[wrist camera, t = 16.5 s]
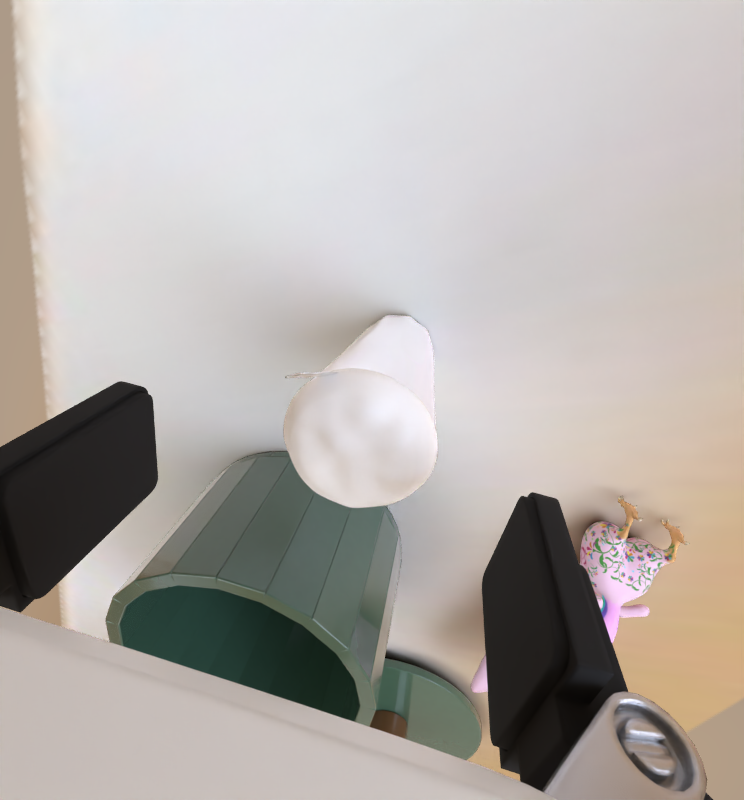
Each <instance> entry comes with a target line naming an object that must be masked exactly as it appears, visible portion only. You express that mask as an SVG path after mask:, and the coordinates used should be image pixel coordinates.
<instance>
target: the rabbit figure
mask: <svg viewBox="0 0 744 800" xmlns="http://www.w3.org/2000/svg"><path fill="white" fill-rule="evenodd" d="M620 498H621V501H620ZM618 502H619V503H621V506H623V507H624V509H625V513H626V515H627V519H626V523H625V525H624V526H623V527H622V528H619V527H617V526H616V525H614V524H612V523H610V522H604V521H601V522H596V523H594V524H592V525H591V526H589V527H588V529H587V530H586V532H585V533H584V536H583V539H582V543H581V551H580V558H581V560H580V565H582V566H583V567H584V568H585V569H586V570H587V572H588V574H589V577H590V580H591V583H592V586H593V589H594V592H595V595H596V598H597V601H598V604H599V607H600V610H601V613H602V616H603V618H604V621H605V624H606V627H607V630H608V633H609V636H610V639H611V642H612V643H613V641H614V638H615V635H616V632H617V629H618V622H619V617H644V616H647V615H649V609H648V607H647V606H645V605H641V604H639V605H633V606H622V605H623V604H624V603H625V602H628V601H631V600H633V599H636V598H638V597H640V596H642V595H643V594H644V593H646V592H647V590H648V589H649V588H650V586H651V583H652V581H653V579H654V577H655V575H656V573H657V572H658V571H659V569H660V568H661V567H662V566H664V565H665V564H668V563H673V562H674V561H675V559H676V551H677V548H678V547H679V544H680V542H681V543H683V544H685V545H688V544H690V543H688V542H685V541H684V536H683V535H682V533H681V532H680V530H679V529H678V528H679V527H673V526H671V525H669V520H667V522H666V524H665V523H664V521H663V519H662V520H661V522H662V524H663V525H664V526H665V528H666V529H668V530H669V532H670V535H671V538H672V543H671V545H670V547H669V548H668V549H666V550H661V549H658V548H656V547H654V546H653V545H652V544H650V543H649V542H647V541H645V540H644V539H641V538H628V539H626V538H627V537H628V532H629V529H630V527H631V524H632V522H633V520H634V519H636V520H638V521H640V520H642V519H641V518H638V517H637V516H638V512H637V511H636V510H635V508H636V506H637V505H636V506H632V505H631V504H629V503H626V502H624V499H623V496H622V497H621V496H620V497H619V498H618ZM471 690H472V691H473V692H475V693H478V692H486V691H488V685H487V667H486V654H485V656H484V658H483V659H482V661H481V663H480V666H479V668H478V670H477V672H476V674H475V676H474V678H473V680H472V683H471Z"/></svg>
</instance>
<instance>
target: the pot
mask: <svg viewBox="0 0 744 800" xmlns="http://www.w3.org/2000/svg"><path fill="white" fill-rule="evenodd" d="M400 567H401V540H400V535H399V531H398V528H397V525H396V523H395V521H394V519H393V517H392V515H391V513H390V512H389V510H388V509H387V507H386V506H375V507H365V508H351V507H347V506H344V505H341V504H339V503H336V502H334V501H331V500H329V499H327V498H325V497H323V496H321V495H319V494H317V493H316V492H314V491H313V490H312V489H311V488H310V487H309V486H308V485H307V484H306V483H305V482H304V481H303V480H302V478H301V477H300V475H299V474H298V472H297V471H296V469H295V467H294V465H293V463H292V460H291V458H290V455H289V453H288V452H266V453H258V454H255V455H251V456H247V457H245V458H242V459H240V460H238V461H236V462H234V463H233V464H231V465H229V466H228V467H227V468H225V469H224V470H223V471H222V472H221V473H220V474H219V475H218V476H217V477H216V478H215V479H214V480H213V481H212V482H211V483H210V484H209V485H208V486H207V488H206V489H205V490H204V491H203V492H202V493H201V495H200V496H199V497H198V498H197V499H196V500H195V502H194V503H193V504H192V505H191V506H190V507H189V509H188V510H187V511H186V512H185V513H184V514H183V516H182V517H181V518H180V519H179V520H178V521H177V523H176V524H175V525H174V526H173V527H172V528H171V530H170V531H169V532H168V533H167V534H166V535H165V537H164V538H163V539H162V540H161V541H160V542H159V544H158V545H157V546H156V547H155V548H154V549H153V551H152V552H151V553H150V554H149V555H148V556H147V558H146V559H145V560H144V561H143V562H142V563H141V565H140V566H139V567H138V568H137V569H136V570H135V572H134V573H133V574H132V575H131V576H130V577H129V579H128V580H127V581H126V582H125V583H124V584H123V586H122V587H121V588H120V589H119V590H118V591H117V593H116V594H115V595H114V596H113V599H112V601H111V604H110V607H109V610H108V613H107V616H106V626H107V630H108V635H109V640H110V642H111V643H114V644H117V645H120V646H123V647H127V648H130V649H133V650H136V651H139V652H142V653H145V654H148V655H151V656H154V657H157V658H161V659H164V660H167V661H170V662H173V663H176V664H179V665H182V666H185V667H188V668H191V669H195V670H198V671H201V672H204V673H207V674H210V675H213V676H216V677H219V678H222V679H225V680H228V681H232V682H235V683H238V684H241V685H244V686H247V687H250V688H253V689H256V690H259V691H262V692H265V693H268V694H271V695H274V696H277V697H280V698H283V699H287V700H290V701H293V702H296V703H299V704H302V705H305V706H308V707H311V708H314V709H317V710H320V711H323V712H326V713H329V714H332V715H335V716H338V717H341V718H344V719H347V720H350V721H353V722H356V723H359V724H362V725H365V726H368V727H370V724H371V721H372V719H373V716H374V713H375V711H376V707H377V701H378V695H379V689H380V684H381V678H382V672H383V666H384V660H385V654H386V649H387V643H388V637H389V631H390V625H391V620H392V614H393V608H394V602H395V596H396V590H397V585H398V579H399V573H400Z"/></svg>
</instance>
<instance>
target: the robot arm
mask: <svg viewBox="0 0 744 800" xmlns="http://www.w3.org/2000/svg"><path fill="white" fill-rule="evenodd" d="M157 481H158V471H157V456H156V441H155V426H154V411H153V399H152V397H151V395H149V394H148V391H147V390H146V388H144V387H141V386H138V385H134V384H130V383H127V382H121V381H120V382H117V383H115V384H113V385H111V386H110V387H108V388H106V389H104V390H102V391H101V392H99V393H97V394H95V395H93V396H92V397H90V398H88V399H86V400H84V401H83V402H81V403H79V404H77V405H75V406H74V407H72V408H70V409H68V410H66V411H65V412H63V413H61V414H59V415H57V416H55V417H54V418H52V419H50V420H48V421H46V422H45V423H43V424H41V425H39V426H38V427H36V428H34V429H32V430H30V431H28V432H27V433H25V434H23V435H21V436H19V437H18V438H16V439H14V440H12V441H10V442H9V443H7V444H5V445H3V446H1V447H0V606H2V607H5V608H9V609H11V610H14V611H17V612H21V611H23V610H24V609H25V608H26V607H27V606H28V605H29V604H30V603H31V602H32V601H33V600H34V599H38V598H41V597H43V596H44V595H46V594H47V593H48V592H49V591H50V590H51V589H52V588H53V587H54V586H55V585H56V584H57V583H58V582H59V581H61V580H62V579H63V578H64V577H65V576H66V575H67V574H68V573H69V572H70V571H71V570H72V569H73V568H74V567H75V566H76V565H77V564H78V563H79V562H80V561H81V560H82V559H83V558H84V557H85V556H86V555H87V554H88V553H89V552H90V551H91V550H92V549H93V548H94V547H95V546H97V545H98V544H99V543H100V542H101V541H102V540H103V539H104V538H105V537H106V536H107V535H108V534H109V533H110V532H111V531H112V530H113V529H114V528H115V527H116V526H117V525H118V524H119V523H120V522H121V521H122V520H123V519H124V518H125V517H126V516H127V515H128V514H129V513H130V512H132V511H133V510H134V509H135V508H136V507H137V506H138V505H139V504H140V503H141V502H142V501H143V500H144V499H145V498H146V497H147V496H148V495H149V494H150V493H151V492H152V491H153V490H154V488H155V486H156V484H157ZM482 597H483V614H484V632H485V650H486V667H487V685H488V702H489V720H490V735H491V741H492V744H493V745H494V746H497V747H499V749H500V763H501V768H502V769H505V770H508V771H512V772H515V773H518V774H520V780H521V782H520V781H518V780H515V779H513V778H510V777H508V776H505V775H503V774H501V773H498V772H496V771H493V770H491V769H488V768H486V767H483V766H481V765H478V764H475V763H472V762H469V761H467V760H464V759H461V758H458V757H455V756H452V755H450V754H447V753H444V752H441V751H438V750H435V749H432V748H430V747H427V746H424V745H421V744H418V743H415V742H412V741H410V740H407V739H404V738H401V737H398V736H395V735H393V734H389V733H386V732H383V731H380V730H377V729H374V728H371V727H368V726H365V725H362V724H359V723H356V722H353V721H350V720H347V719H344V718H341V717H338V716H335V715H332V714H329V713H326V712H323V711H320V710H317V709H314V708H311V707H308V706H305V705H302V704H299V703H296V702H293V701H290V700H287V699H283V698H280V697H277V696H274V695H271V694H268V693H265V692H262V691H259V690H256V689H253V688H250V687H247V686H244V685H241V684H238V683H235V682H232V681H228V680H225V679H222V678H219V677H216V676H213V675H210V674H207V673H204V672H201V671H198V670H195V669H191V668H188V667H185V666H182V665H179V664H176V663H173V662H170V661H167V660H164V659H161V658H157V657H154V656H151V655H148V654H145V653H142V652H139V651H136V650H133V649H130V648H127V647H123V646H120V645H117V644H114V643H111V642H108V641H105V640H102V639H98V638H95V637H92V636H89V635H86V634H83V633H80V632H76V631H73V630H70V629H67V628H64V627H60V626H57V625H54V624H51V623H48V622H45V621H42V620H38V619H35V618H32V617H29V616H26V615H23V614H20V613H17V612H13V611H10V610H7V609H4V608H0V800H713V799H712V798H711V797H710V796H709V795H708V794H707V793H706V785H707V778H706V773H705V769H704V765H703V762H702V760H701V757H700V755H699V753H698V751H697V750H696V748H695V745H694V744H693V742H692V741H691V739H690V738H689V737H688V735H687V734H686V732H685V731H684V730H683V728H682V727H681V726H680V725H679V724H678V723H677V722H676V721H675V720H674V719H673V718H672V717H671V716H670V715H669V714H668V713H667V712H666V711H665V710H663V709H662V708H661V707H659V706H658V705H657V704H655V703H654V702H653V701H651V700H649V699H647V698H645V697H643V696H641V695H639V694H635V693H630V692H628V689H627V687H626V684H625V681H624V678H623V675H622V672H621V669H620V666H619V663H618V660H617V657H616V654H615V651H614V648H613V645H612V642H611V639H610V636H609V633H608V630H607V627H606V624H605V621H604V618H603V616H602V613H601V610H600V607H599V604H598V601H597V598H596V595H595V592H594V589H593V586H592V583H591V580H590V577H589V574H588V572H587V570H586V569H585V568H584V567H583V566H582V565H579V563H578V560H577V557H576V554H575V550H574V547H573V544H572V541H571V538H570V535H569V532H568V529H567V526H566V522H565V519H564V516H563V513H562V510H561V507H560V504H559V502H558V500H557V499H555V498H552V497H548V496H544V495H541V494H537V493H530V494H529V495H528V497H524V496H521V497H520V498H519V500H518V502H517V504H516V506H515V508H514V510H513V513H512V515H511V517H510V519H509V521H508V523H507V525H506V528H505V530H504V532H503V534H502V536H501V538H500V540H499V542H498V545H497V547H496V549H495V551H494V553H493V555H492V557H491V560H490V562H489V564H488V566H487V568H486V570H485V573H484V576H483V581H482Z"/></svg>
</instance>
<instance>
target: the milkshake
mask: <svg viewBox="0 0 744 800" xmlns="http://www.w3.org/2000/svg"><path fill="white" fill-rule="evenodd" d="M309 377H313V378H312V379H311V380H310V381H309V382H308V383H306V384H305V385H304V386H303V387H301V388H300V389H299V391H298V392H297V393H296V394H295V396H294V397H293V399H292V400H291V402H290V404H289V407H288V409H287V412H286V415H285V420H284V429H283V433H284V440H285V444H286V447H287V450H288V453H289V455H290V458H291V460H292V463H293V465H294V467H295V469H296V471H297V472H298V474H299V475H300V477H301V478H302V480H303V481H304V482H305V483H306V484H307V485H308V486H309V487H310V488H311V489H312V490H313V491H314V492H316V493H317V494H319V495H321V496H323V497H325V498H327V499H329V500H331V501H334V502H336V503H339V504H341V505H344V506H347V507H351V508H365V507H375V506H385V505H389V504H393V503H396V502H398V501H400V500H402V499H404V498H406V497H408V496H409V495H411V494H412V493H413V492H415V491H416V490H417V489H418V488H420V487H421V486H422V485H423V484H424V483H425V482H426V481H427V480H428V478H429V477H430V475H431V474H432V472H433V470H434V467H435V464H436V461H437V455H438V440H437V429H436V415H435V401H434V350H433V346H432V343H431V339H430V335H429V332H428V330H427V329H426V328H425V327H423V326H422V325H421V324H420V323H418V322H417V321H416V320H415V319H413V318H412V317H411V316H402V315H386V316H384V317H383V318H382V319H380V320H379V321H377V322H376V323H374V324H373V325H371V326H369V327H368V328H367V329H366V330H365V331H364V332H363V333H362V334H361V335H360V336H359V337H358V338H357V339H356V340H355V341H354V342H353V343H352V344H351V345H350V346H348V347H347V348H346V349H345V350H344V351H343V352H342V353H341V354H340V355H339V356H338V357H337V358H336V359H335V360H334V361H332V362H331V363H330V364H329V365H328V366H326V367H325V368H324V369H323V370H322V371H320V372H300V373H296V374H292V375H288V376H286V377H285V378H309Z"/></svg>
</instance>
